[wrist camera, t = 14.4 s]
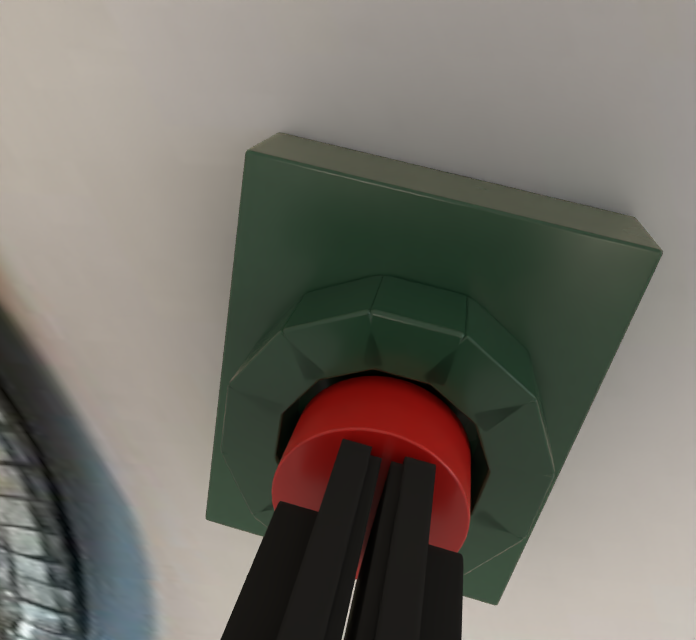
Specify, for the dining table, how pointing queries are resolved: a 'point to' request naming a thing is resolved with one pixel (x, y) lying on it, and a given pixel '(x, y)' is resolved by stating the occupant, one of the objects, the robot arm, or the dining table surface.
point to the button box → (420, 323)
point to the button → (381, 449)
